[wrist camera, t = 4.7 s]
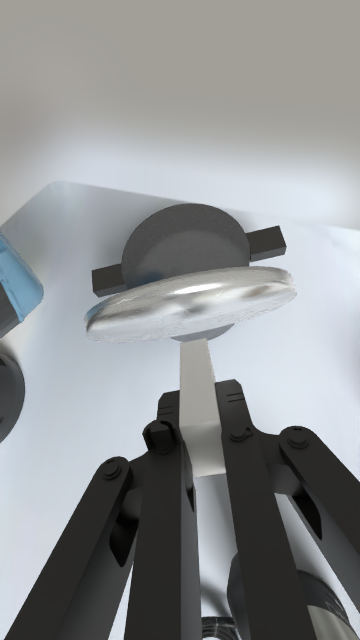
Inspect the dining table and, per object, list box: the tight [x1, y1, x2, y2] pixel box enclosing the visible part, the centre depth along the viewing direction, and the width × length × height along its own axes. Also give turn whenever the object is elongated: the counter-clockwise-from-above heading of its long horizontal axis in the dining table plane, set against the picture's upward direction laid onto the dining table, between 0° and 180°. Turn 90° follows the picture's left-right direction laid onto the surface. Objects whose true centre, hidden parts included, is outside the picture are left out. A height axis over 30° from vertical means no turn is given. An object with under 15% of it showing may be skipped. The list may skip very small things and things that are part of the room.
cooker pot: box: [92, 204, 287, 342], centre depth 40 cm, size 23×15×10 cm, turn 99°
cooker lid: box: [84, 266, 297, 343], centre depth 24 cm, size 16×17×1 cm
